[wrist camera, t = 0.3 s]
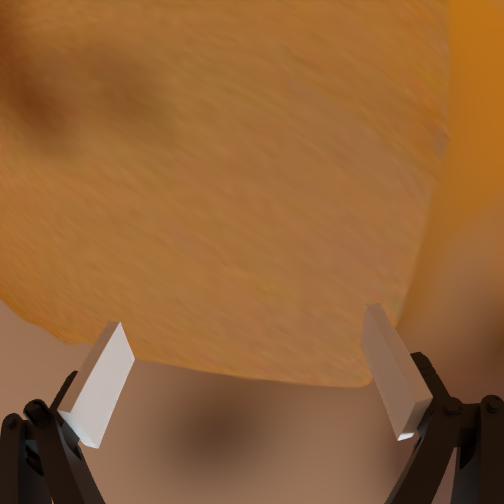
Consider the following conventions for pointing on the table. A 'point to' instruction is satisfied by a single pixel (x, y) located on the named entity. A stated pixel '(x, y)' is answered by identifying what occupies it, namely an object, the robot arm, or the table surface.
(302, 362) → the table surface
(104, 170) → the table surface
